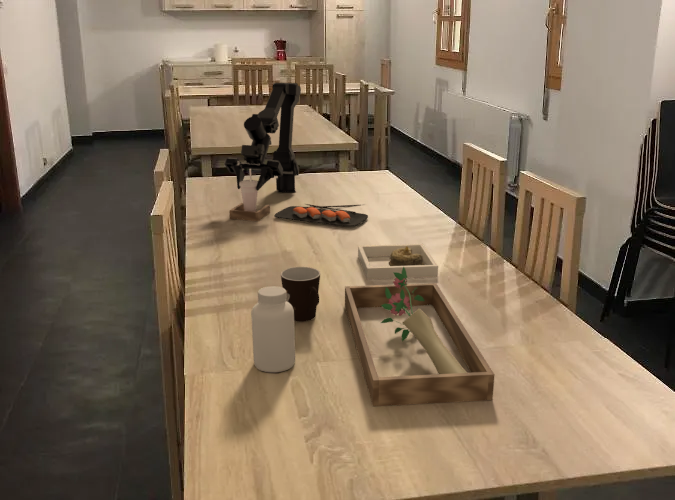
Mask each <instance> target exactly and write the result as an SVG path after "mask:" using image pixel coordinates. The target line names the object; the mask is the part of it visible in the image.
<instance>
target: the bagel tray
mask: <svg viewBox="0 0 675 500" xmlns="http://www.w3.org/2000/svg"><path fill="white" fill-rule="evenodd" d="M406 246H407V247H408V248H410V249H412V254H416V253H417V254H419V255H420V254H421V255H422V256H423V261H424V262H425V265H414V266H390V265H388V266H387V265H385V266H371V265H370V262H369V259H368V258H376V257H377V258H380V257H382V258H383V257H390V255H391V253H392V252H393V251H394V250H396V249H400V248H406ZM357 257H358V260H359V263H360V265H361V268H362V270H363V273H364V275H365V278H366V280H367V281H368V280H391V279H392V280H394V279H395V278H396V277H395V275H394V273H393V272H397V273H400V274H402V269H403V267H404V268H405V270H406V274H407V279H424V278H438V277H439V276H438V275H439V265H438V264H437V262H436V260H435V259H434V257H433V256H432V254H431V253H430V252H429V250H428V249H427V248H426V246H425V245H424V244H423V243H408V244H407V243H405V244H402V243H400V244H377V245H376V244H374V245H371V244H369V245H357Z"/></svg>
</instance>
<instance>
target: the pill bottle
mask: <svg viewBox="0 0 675 500" xmlns="http://www.w3.org/2000/svg"><path fill="white" fill-rule="evenodd" d="M286 298H287V294H286V290H285V289H284V288H283V287H282V286H275V285H272V286H264V287H262V288H259V290H258V291H257V302H256V303H255V304H254V305H253V307H252V308H251V312H250V316H251V318H250V319H251V331H252V332H251V333H252V335H251V336H252V353H253V356H252V357H253V364H254V367H255V368H256V369H257V370H259V371H260V372H261V371H262V372H264V373H280V372H284V371H287V370H290V369H291V368H293V367H294V365H295V362H296V344H295V343H296V338H295V335H296V334H295V321H294V310H293V307H292V305H291V304H290V303H289V302H287V301H286Z"/></svg>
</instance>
